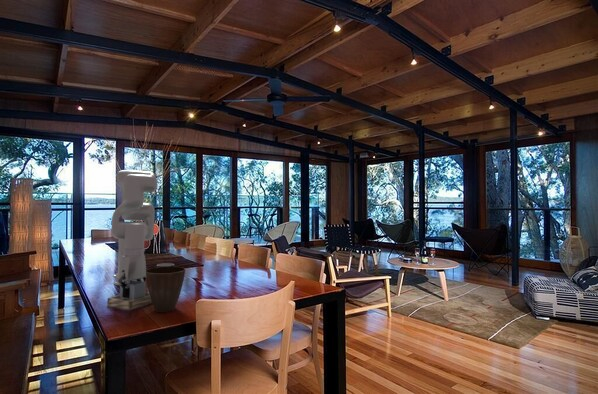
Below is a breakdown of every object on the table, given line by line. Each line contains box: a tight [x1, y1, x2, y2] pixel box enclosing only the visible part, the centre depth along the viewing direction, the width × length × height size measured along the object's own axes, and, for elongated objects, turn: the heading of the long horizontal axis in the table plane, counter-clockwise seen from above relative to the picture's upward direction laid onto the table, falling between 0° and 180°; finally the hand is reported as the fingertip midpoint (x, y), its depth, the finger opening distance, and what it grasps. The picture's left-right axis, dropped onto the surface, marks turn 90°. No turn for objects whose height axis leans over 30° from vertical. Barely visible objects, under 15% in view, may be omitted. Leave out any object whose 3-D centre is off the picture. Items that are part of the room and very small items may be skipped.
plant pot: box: [146, 266, 186, 313], centre depth 135 cm, size 15×15×16 cm
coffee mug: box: [149, 262, 175, 269], centre depth 178 cm, size 12×9×10 cm
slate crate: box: [119, 280, 147, 300], centre depth 141 cm, size 8×6×6 cm
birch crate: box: [106, 292, 153, 312], centre depth 141 cm, size 12×13×4 cm
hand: (132, 295), depth 141 cm, fingers closed on slate crate, 6 cm apart
